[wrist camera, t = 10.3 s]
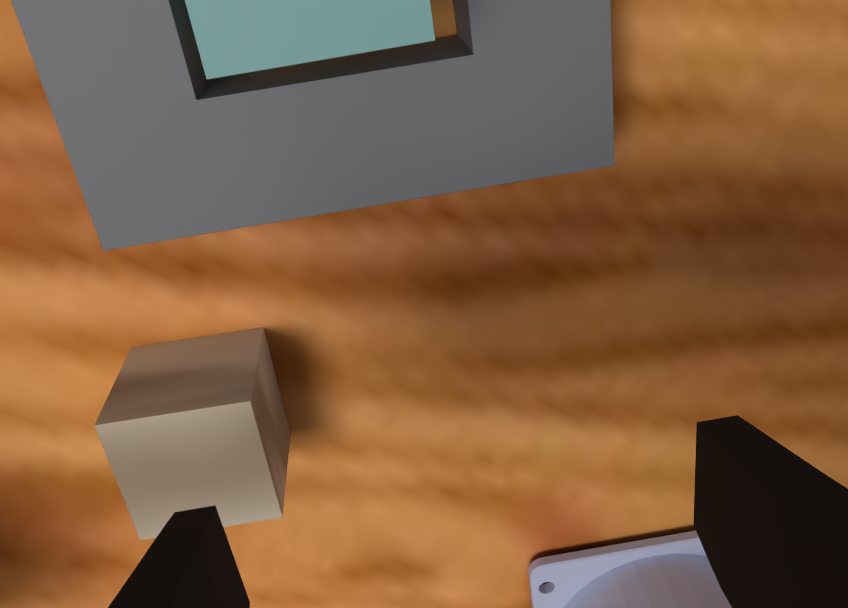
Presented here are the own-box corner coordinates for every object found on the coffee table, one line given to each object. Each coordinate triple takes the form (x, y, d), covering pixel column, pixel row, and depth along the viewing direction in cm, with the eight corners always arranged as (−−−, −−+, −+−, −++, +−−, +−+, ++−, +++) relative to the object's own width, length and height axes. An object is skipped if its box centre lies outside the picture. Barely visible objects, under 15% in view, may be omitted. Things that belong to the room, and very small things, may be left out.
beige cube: (290, 431, 22) (282, 517, 19) (168, 450, 22) (140, 540, 19) (263, 325, 21) (250, 400, 18) (131, 346, 21) (94, 425, 17)
